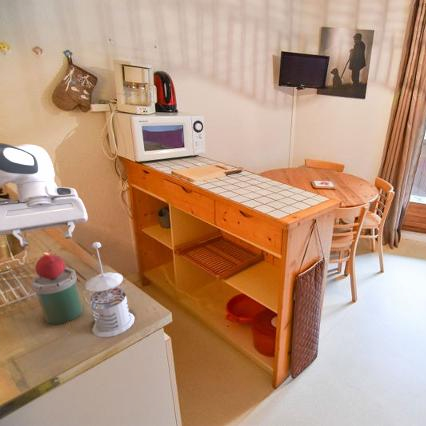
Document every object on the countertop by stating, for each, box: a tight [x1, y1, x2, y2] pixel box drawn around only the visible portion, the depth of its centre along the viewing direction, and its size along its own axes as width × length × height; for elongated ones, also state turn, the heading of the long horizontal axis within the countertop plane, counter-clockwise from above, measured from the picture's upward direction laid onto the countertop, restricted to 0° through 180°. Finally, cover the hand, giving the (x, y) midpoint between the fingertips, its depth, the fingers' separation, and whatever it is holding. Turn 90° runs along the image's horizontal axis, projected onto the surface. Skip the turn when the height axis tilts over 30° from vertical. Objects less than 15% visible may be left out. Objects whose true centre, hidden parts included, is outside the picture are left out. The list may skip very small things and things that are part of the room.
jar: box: [30, 266, 84, 325], centre depth 85 cm, size 9×9×12 cm
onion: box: [35, 252, 66, 280], centre depth 82 cm, size 6×6×8 cm
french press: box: [82, 241, 136, 338], centre depth 81 cm, size 10×12×25 cm
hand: (47, 241), depth 88 cm, fingers open, 8 cm apart
